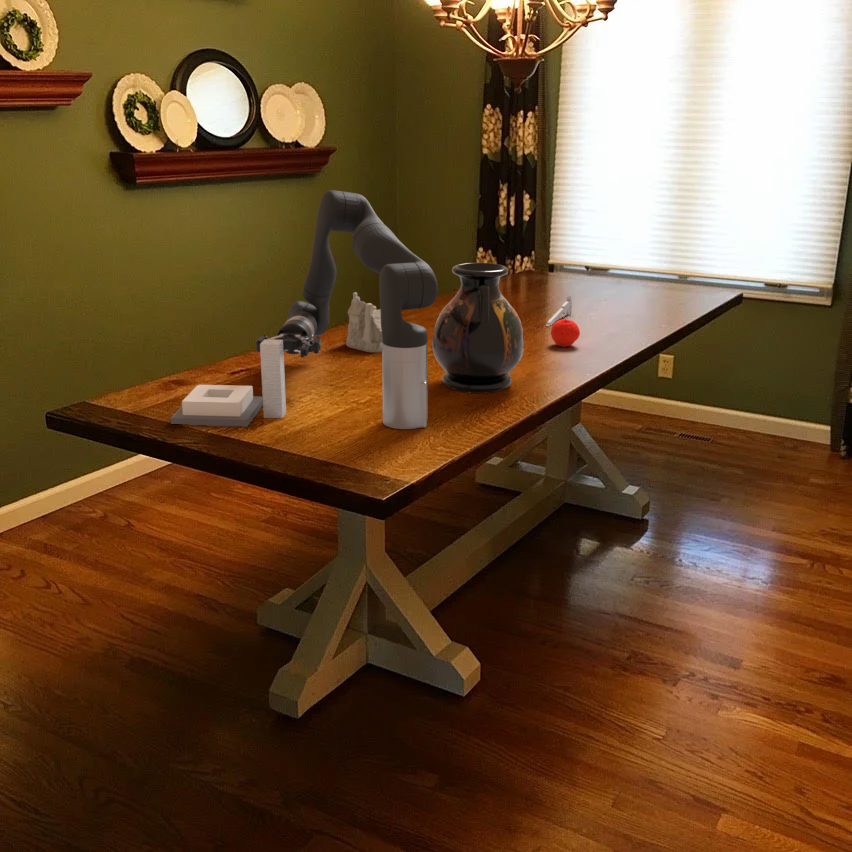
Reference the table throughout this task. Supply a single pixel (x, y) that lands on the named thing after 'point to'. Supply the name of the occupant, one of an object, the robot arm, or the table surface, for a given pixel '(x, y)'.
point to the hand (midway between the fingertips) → (282, 352)
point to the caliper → (562, 311)
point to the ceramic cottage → (364, 326)
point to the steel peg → (273, 378)
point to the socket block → (219, 406)
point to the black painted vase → (478, 332)
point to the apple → (565, 332)
